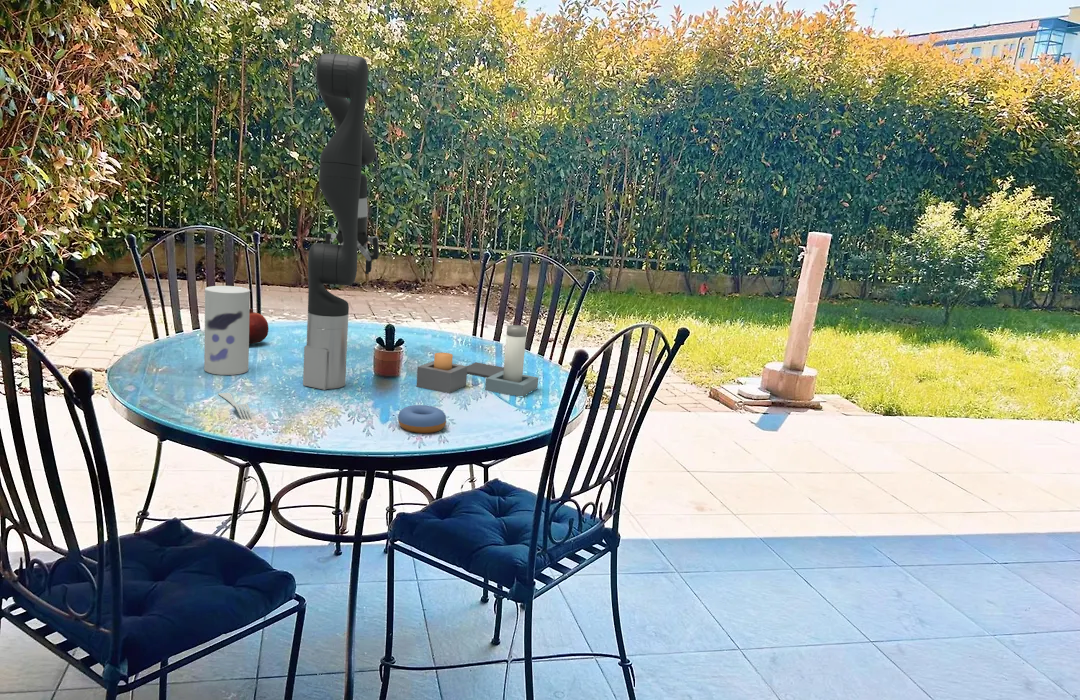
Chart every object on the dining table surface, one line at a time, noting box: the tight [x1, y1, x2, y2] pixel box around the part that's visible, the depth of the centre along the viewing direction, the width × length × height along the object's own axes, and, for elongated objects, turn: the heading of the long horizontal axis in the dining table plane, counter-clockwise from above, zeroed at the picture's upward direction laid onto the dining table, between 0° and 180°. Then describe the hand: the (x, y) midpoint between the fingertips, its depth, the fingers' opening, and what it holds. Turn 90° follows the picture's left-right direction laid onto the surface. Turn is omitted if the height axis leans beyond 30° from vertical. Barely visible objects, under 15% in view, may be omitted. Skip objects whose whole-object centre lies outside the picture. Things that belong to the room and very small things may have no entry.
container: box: [203, 285, 251, 376], centre depth 200 cm, size 10×10×20 cm
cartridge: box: [503, 324, 528, 383], centre depth 208 cm, size 5×5×16 cm
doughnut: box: [397, 404, 447, 434], centre depth 174 cm, size 10×10×5 cm
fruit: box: [249, 308, 269, 345], centre depth 229 cm, size 11×10×10 cm
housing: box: [484, 371, 539, 397], centre depth 209 cm, size 10×10×3 cm
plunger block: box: [415, 360, 468, 394], centre depth 206 cm, size 9×9×5 cm
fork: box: [217, 392, 253, 421], centre depth 176 cm, size 3×21×3 cm, turn 34°
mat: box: [466, 362, 504, 378], centre depth 225 cm, size 11×11×1 cm
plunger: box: [433, 352, 454, 371], centre depth 205 cm, size 4×4×6 cm
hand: (351, 272), depth 228 cm, fingers open, 8 cm apart
